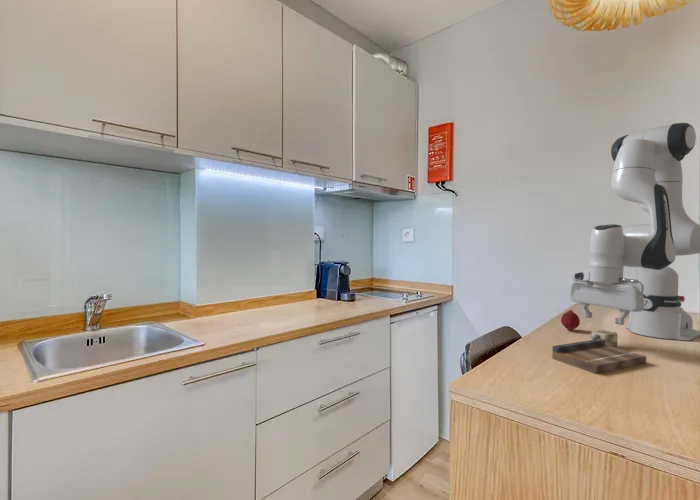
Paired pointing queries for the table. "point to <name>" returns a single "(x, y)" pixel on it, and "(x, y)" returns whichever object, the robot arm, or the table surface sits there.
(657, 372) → the table surface
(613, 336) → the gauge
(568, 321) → the onion
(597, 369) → the board
